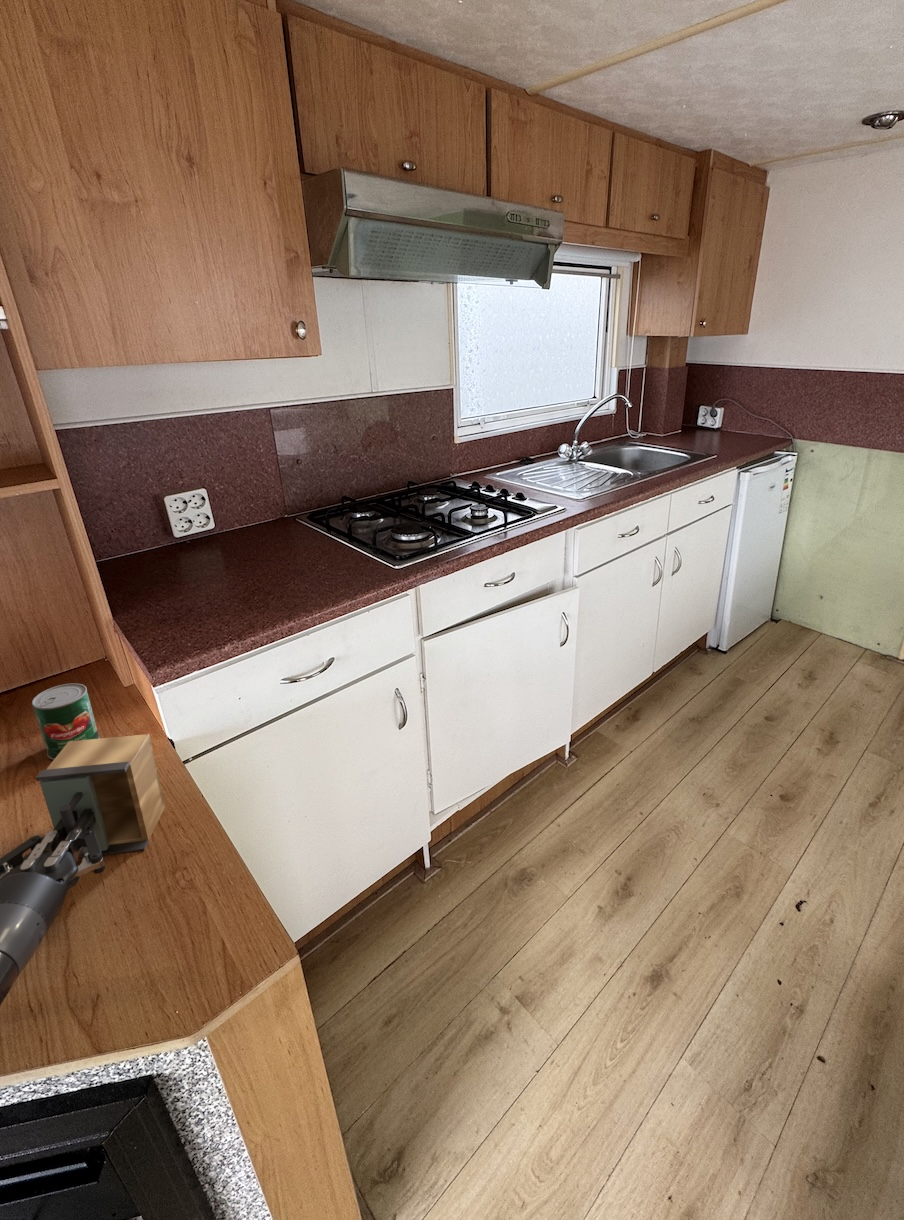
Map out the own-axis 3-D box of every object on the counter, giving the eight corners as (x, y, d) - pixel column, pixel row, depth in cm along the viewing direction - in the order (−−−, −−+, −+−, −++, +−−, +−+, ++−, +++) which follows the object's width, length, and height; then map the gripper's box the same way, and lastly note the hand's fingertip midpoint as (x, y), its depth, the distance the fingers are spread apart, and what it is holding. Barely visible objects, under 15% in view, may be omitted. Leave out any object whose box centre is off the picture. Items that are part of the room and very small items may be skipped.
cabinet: (60, 860, 83) (35, 777, 78) (89, 815, 91) (67, 737, 86) (144, 850, 85) (124, 768, 80) (165, 806, 93) (148, 730, 88)
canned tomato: (83, 728, 111) (70, 678, 107) (109, 740, 108) (96, 689, 104) (37, 753, 104) (21, 700, 100) (63, 766, 101) (48, 712, 97)
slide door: (46, 881, 79) (21, 805, 74) (64, 853, 83) (41, 780, 79) (93, 875, 80) (71, 800, 75) (108, 847, 84) (88, 775, 80)
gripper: (66, 896, 64) (130, 787, 80) (-75, 915, 62) (20, 798, 78) (81, 944, 67) (140, 829, 83) (-54, 964, 64) (34, 841, 81)
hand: (82, 814), depth 80 cm, fingers closed
